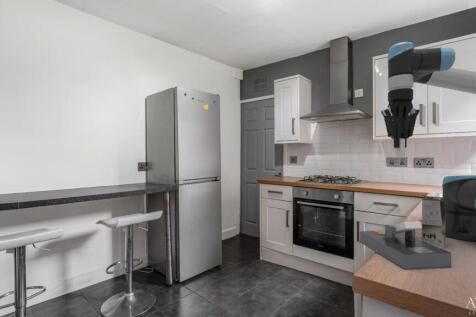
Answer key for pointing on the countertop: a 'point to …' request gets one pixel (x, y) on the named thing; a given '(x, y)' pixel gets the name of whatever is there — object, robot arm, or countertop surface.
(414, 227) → the rocker
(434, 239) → the coffee box
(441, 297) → the countertop surface
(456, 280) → the countertop surface
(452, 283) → the countertop surface
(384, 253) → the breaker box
